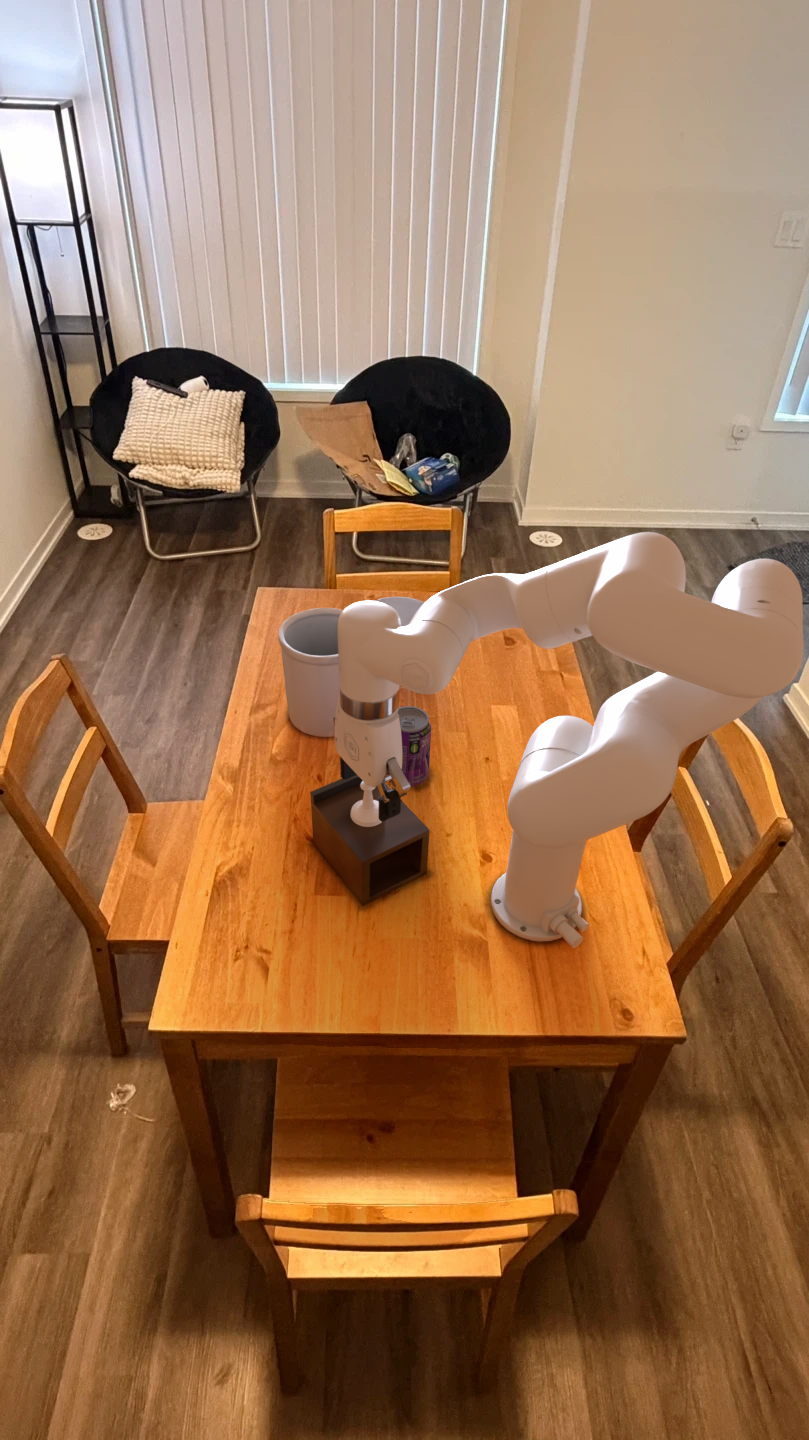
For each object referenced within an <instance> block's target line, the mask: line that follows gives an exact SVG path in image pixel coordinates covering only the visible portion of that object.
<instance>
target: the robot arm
mask: <svg viewBox="0 0 809 1440" xmlns="http://www.w3.org/2000/svg"><path fill="white" fill-rule="evenodd" d="M686 572H687V571H686V564H685V560H684V556H683V555H682V553H681V550H680V549H679V547H678V546H677V545H676V543H675V542H674V541H673V540H671V539H670V538H669V537H667V536H666V535H665V534H661V533H658V532H653V531H643V532H636V533H632V534H629V535H626V536H623V537H620V538H617V539H615V540H613V541H609V542H607V543H604V544H601V545H599V546H597V547H594V548H591V549H589V550H586V551H583V552H581V553H579V554H576V555H573V556H571V557H568V558H565V559H563V560H560V561H557V562H555V563H552V564H549V565H546V566H544V567H541V568H539V569H537V570H534V571H533V570H532V571H531V572H528V573H524V574H521V573H490V574H483V575H481V576H477V577H474V578H472V579H471V578H470V579H468V580H465V581H463V582H461V583H459V584H456V585H454V586H451V587H449V588H446V589H444V590H441V591H440V592H438V593H435V594H433V595H432V596H431V597H429V598H428V599H427V600H426V601H424V602H425V603H423V604H422V606H421V607H420V608H419V610H418V611H417V612H416V614H415V615H414V617H413V618H412V620H411V621H410V623H409V625H408V626H405V627H402V626H401V620H400V617H399V615H398V613H397V612H396V611H395V609H394V608H392V607H391V606H389V605H387V604H385V603H382V602H378V601H375V600H361V601H357V602H354V603H351V604H349V605H348V606H346V607H345V608H344V609H342V610H343V611H342V612H341V614H340V616H339V619H338V660H339V691H340V695H339V698H338V702H337V707H336V716H334V717H333V722H334V726H335V736H334V748H335V750H336V753H337V754H338V755H339V764H340V765H339V767H340V779H344V780H346V779H348V778H350V777H353V776H355V775H358V776H359V777H360V778H361V779H362V780H363V781H364V782H365V783H366V784H367V785H369V786H371V787H376V786H378V789H379V792H380V794H381V797H380V798H379V820H380V821H381V822H383V821H385V820H387V819H389V818H392V817H394V816H396V815H398V814H399V813H400V812H401V800H402V798H403V797H405V796H407V795H408V793H409V791H410V790H411V787H412V786H410V784H409V782H408V780H407V779H406V777H405V775H404V773H403V772H402V736H401V727H400V720H399V714H398V710H399V708H400V697H401V696H400V695H401V688H402V689H403V688H404V689H406V690H408V691H410V692H413V693H415V694H419V695H425V696H431V695H436V694H438V693H440V692H442V691H444V690H445V689H446V688H447V686H449V684H450V683H451V681H452V680H453V677H454V675H455V674H456V672H457V670H458V668H459V666H460V664H461V661H462V660H463V658H464V656H465V654H466V652H467V650H468V648H469V646H470V645H471V643H472V642H474V641H476V640H479V639H481V638H485V637H487V636H490V635H493V634H495V633H498V632H502V631H505V630H509V629H510V630H511V629H523V631H524V633H525V634H526V636H527V638H529V640H530V641H531V642H532V643H533V644H535V646H537V647H539V648H541V649H543V650H552V649H557V648H559V647H562V646H565V645H568V644H571V643H574V642H577V641H579V640H583V639H586V638H589V637H593V638H594V640H595V641H596V642H597V643H598V644H599V645H600V646H601V647H602V648H604V649H605V650H607V651H608V653H609V652H610V653H611V654H612V655H615V656H617V657H619V658H622V659H623V660H626V661H628V662H631V663H633V664H635V665H638V666H641V667H644V668H647V669H649V670H652V671H655V672H654V673H652V674H651V675H649V676H647V677H645V678H643V679H641V680H639V681H637V682H635V683H633V684H632V685H630V686H628V687H626V688H624V689H621V690H620V691H618V692H616V693H615V694H613V695H612V696H610V697H609V698H607V699H606V700H605V701H604V702H603V704H602V705H601V706H600V708H599V710H598V713H597V715H596V717H595V720H594V723H593V725H592V724H591V723H590V722H589V721H587V720H585V719H583V718H581V717H577V716H574V715H558V716H554V717H552V718H551V717H550V718H549V719H547V720H546V721H544V722H543V723H541V724H540V725H539V726H538V727H536V729H535V730H534V731H533V733H532V734H531V735H530V738H529V739H528V741H527V744H526V746H525V749H524V752H523V754H522V757H521V760H520V762H519V765H518V769H517V773H516V776H515V778H514V781H513V785H512V787H511V790H510V793H509V797H508V801H507V818H508V821H509V825H510V827H511V829H512V832H511V839H510V846H509V853H508V859H507V866H506V871H505V872H504V873H503V874H502V875H501V876H500V877H499V878H497V880H496V881H495V883H494V885H493V886H492V887H493V888H492V891H491V897H490V905H491V909H492V912H493V914H494V917H495V919H496V920H497V921H498V922H499V923H500V925H501V926H502V927H503V928H505V929H506V930H507V931H508V932H510V933H512V934H513V935H515V936H517V937H519V938H522V939H525V940H528V941H534V942H551V941H555V940H559V939H562V938H563V940H564V941H565V942H566V943H567V944H568V945H569V946H570V947H571V948H572V949H575V948H578V947H579V946H580V945H581V944H582V942H583V940H584V937H583V936H582V935H581V933H579V932H578V931H577V930H576V929H575V928H577V929H578V930H580V931H581V932H582V933H584V932H585V931H587V930H588V928H589V927H590V924H589V923H588V921H587V920H585V918H583V917H582V912H583V902H582V901H583V900H582V898H581V896H580V893H579V891H578V890H577V883H578V879H579V875H580V870H581V867H582V862H583V857H584V853H585V849H586V845H587V841H589V840H591V839H594V838H596V837H599V836H601V835H603V834H606V833H608V832H611V831H613V830H616V829H618V828H620V827H622V826H623V827H624V826H626V825H628V824H630V823H633V822H635V821H637V820H639V819H642V818H643V817H645V816H647V815H649V814H651V813H652V812H654V811H655V810H656V809H657V808H659V807H660V806H661V805H662V804H663V803H664V802H665V801H666V800H667V798H668V797H669V795H670V793H671V792H672V790H673V787H674V784H675V781H676V778H677V771H678V765H679V759H680V756H681V754H682V752H683V751H684V749H686V748H687V747H689V746H690V745H692V744H693V743H695V742H697V741H699V740H700V739H703V738H704V737H706V736H708V735H710V734H712V733H714V732H716V731H717V730H719V729H721V728H724V727H725V726H727V725H728V724H731V723H732V722H734V721H735V720H737V719H739V718H740V717H742V716H743V715H745V714H746V713H748V712H749V711H750V710H752V709H753V708H754V707H755V706H756V705H758V704H759V703H760V702H761V701H762V700H763V698H765V697H769V696H772V695H775V694H776V693H780V692H781V691H782V690H784V689H785V688H786V687H788V686H789V685H790V684H791V683H792V682H793V681H794V679H795V678H796V677H797V675H798V673H799V671H800V668H801V667H802V663H803V658H804V628H803V627H804V626H803V625H804V624H803V623H804V622H803V621H804V608H803V607H804V606H803V591H802V587H801V584H800V581H799V579H798V578H797V576H796V575H795V573H794V572H793V571H792V569H791V568H790V567H788V566H787V565H786V564H785V563H783V562H781V561H779V560H776V559H773V558H756V559H752V560H748V561H746V562H744V563H742V564H740V565H738V566H737V567H735V568H733V569H732V570H731V571H729V572H728V573H727V574H726V575H725V576H724V578H722V580H721V581H720V582H719V584H718V586H717V587H716V589H715V591H714V593H713V596H712V598H711V601H709V600H706V599H703V598H700V597H698V596H695V595H693V594H689V593H687V592H686V591H685V590H686V582H687V573H686ZM386 769H387V771H388V772H389V774H388V775H386ZM390 780H392V782H391V783H392V785H393V788H391V789H392V790H390V791H388V792H387V790H386V787H385V784H384V782H385V783H387V782H388V781H390Z"/></svg>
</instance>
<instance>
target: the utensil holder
mask: <svg viewBox="0 0 809 1440" xmlns="http://www.w3.org/2000/svg"><path fill="white" fill-rule="evenodd" d="M343 610H344V609H340V608H334V607H319V608H317V607H316V608H311V609H306V610H302V611H299V612H297V613H294V614H293V615H290V616H289V617H287V619H285V620H284V621H283V622H282V623H281V625H280V627H279V629H278V636H277V637H278V642H279V646H280V649H281V659H282V660H281V661H282V669H283V677H284V686H285V687H284V688H285V696H286V697H285V698H286V705H287V712H288V716H289V720H290V722H291V723H292V725H293V726H294V727H295V728H296V729H297V730H298V731H300V732H302V733H304V734H306V735H310V736H312V737H319V738H331V737H335V726H334V722H333V717H334V716H336V707H337V702H338V698H339V695H340V691H339V660H338V619H339V616H340V614H341V612H342V611H343Z"/></svg>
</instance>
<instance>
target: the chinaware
mask: <svg viewBox="0 0 809 1440" xmlns="http://www.w3.org/2000/svg"><path fill="white" fill-rule="evenodd" d="M374 601H378V602H382V603H385V604H387V605H389V606H391V607H392V608H394V609H395V611H396V612H397V613H398V615H399V617H400V620H401V626H402V627H405V626H408V625H409V623H410V621H411V620H412V618H413V617H414V615H415V614H416V612H417V611H418V610H419V608H420V607H421V606H422V604H423V603H425V602H426V601H423V600H421V599H416V598H413V597H406V596H388V597H382V598H378V599H375V600H374Z"/></svg>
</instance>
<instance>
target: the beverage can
mask: <svg viewBox="0 0 809 1440" xmlns="http://www.w3.org/2000/svg"><path fill="white" fill-rule="evenodd" d="M398 714H399V720H400V727H401V736H402V772H403V773H404V775H405V777H406V779H407V780H408V782H409V784H410V786H411V787H415V786H419V785H421V784H422V783H424V782H425V781H426V780H427V779H428V778H429V775H430V765H431V763H430V761H431V746H432V745H431V744H432V724H431V722H430V716H429V714H428V712H427V711H425V710H424V709H422V708H420V707H417V706H413V705H403V706H399V710H398ZM388 774H389V772H388V771H387V769H386V774H385V776H386V775H388ZM389 781H390V782H391V783H393V782H392V780H389Z"/></svg>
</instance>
